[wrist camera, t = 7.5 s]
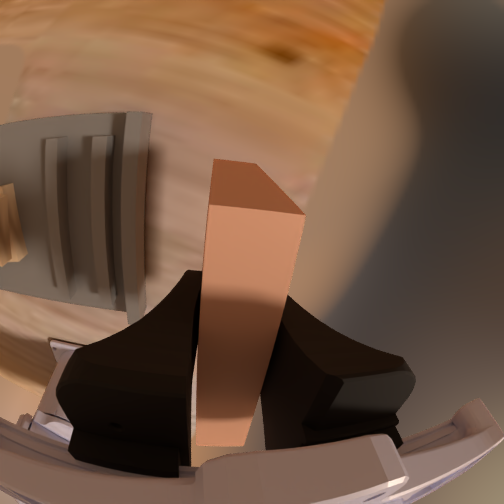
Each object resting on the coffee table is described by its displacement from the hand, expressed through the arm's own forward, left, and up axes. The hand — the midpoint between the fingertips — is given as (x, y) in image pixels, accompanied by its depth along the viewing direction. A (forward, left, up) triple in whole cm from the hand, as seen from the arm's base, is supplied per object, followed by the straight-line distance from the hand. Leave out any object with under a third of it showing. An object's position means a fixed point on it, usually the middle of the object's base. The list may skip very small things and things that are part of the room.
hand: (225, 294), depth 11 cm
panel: (0, 0, -4) cm, 4 cm away
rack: (0, +14, -9) cm, 17 cm away
